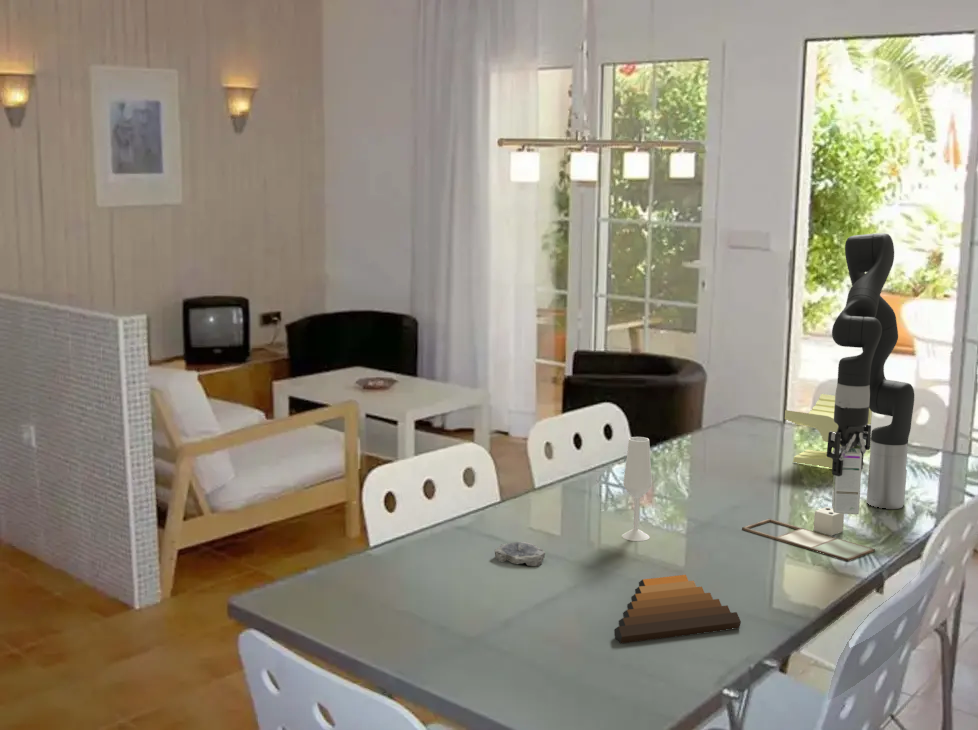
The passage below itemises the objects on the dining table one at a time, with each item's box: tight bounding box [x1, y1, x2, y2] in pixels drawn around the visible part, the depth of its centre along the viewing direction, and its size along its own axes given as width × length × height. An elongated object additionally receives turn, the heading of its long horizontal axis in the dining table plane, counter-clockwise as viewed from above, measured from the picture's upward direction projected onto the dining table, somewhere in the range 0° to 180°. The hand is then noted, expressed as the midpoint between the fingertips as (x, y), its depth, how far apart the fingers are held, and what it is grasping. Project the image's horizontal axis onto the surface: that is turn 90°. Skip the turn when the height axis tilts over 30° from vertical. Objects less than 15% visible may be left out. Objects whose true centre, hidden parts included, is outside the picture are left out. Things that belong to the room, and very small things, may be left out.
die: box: [813, 506, 845, 537], centre depth 283 cm, size 5×5×5 cm
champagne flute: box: [621, 436, 653, 542], centre depth 276 cm, size 7×7×24 cm
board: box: [741, 518, 876, 562], centre depth 277 cm, size 11×29×1 cm, turn 41°
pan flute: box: [613, 574, 742, 644], centre depth 231 cm, size 25×3×25 cm
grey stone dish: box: [494, 541, 546, 567], centre depth 262 cm, size 11×4×10 cm
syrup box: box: [831, 447, 862, 515], centre depth 267 cm, size 6×6×14 cm
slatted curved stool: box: [784, 393, 873, 468], centre depth 346 cm, size 30×16×18 cm, turn 144°
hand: (847, 472), depth 267 cm, fingers closed on syrup box, 8 cm apart
